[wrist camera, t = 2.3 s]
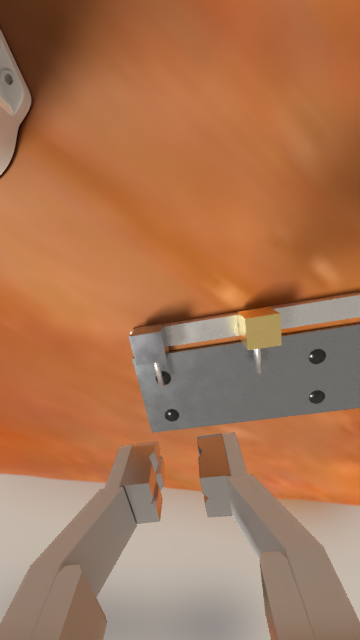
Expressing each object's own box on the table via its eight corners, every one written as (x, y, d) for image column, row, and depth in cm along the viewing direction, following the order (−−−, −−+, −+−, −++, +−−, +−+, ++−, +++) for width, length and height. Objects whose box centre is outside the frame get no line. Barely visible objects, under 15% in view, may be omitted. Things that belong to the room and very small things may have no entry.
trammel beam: (131, 325, 29) (120, 338, 24) (377, 285, 26) (419, 290, 21) (145, 378, 31) (137, 399, 26) (371, 346, 29) (409, 363, 24)
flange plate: (133, 357, 30) (132, 359, 30) (381, 319, 27) (386, 320, 27) (152, 429, 34) (152, 432, 33) (373, 403, 31) (377, 406, 30)
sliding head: (237, 311, 26) (244, 318, 23) (268, 306, 26) (280, 313, 22) (243, 371, 28) (251, 385, 25) (271, 367, 28) (283, 381, 25)
